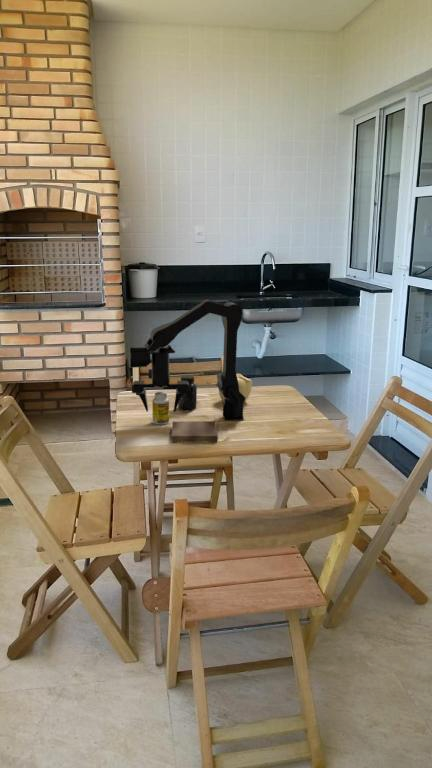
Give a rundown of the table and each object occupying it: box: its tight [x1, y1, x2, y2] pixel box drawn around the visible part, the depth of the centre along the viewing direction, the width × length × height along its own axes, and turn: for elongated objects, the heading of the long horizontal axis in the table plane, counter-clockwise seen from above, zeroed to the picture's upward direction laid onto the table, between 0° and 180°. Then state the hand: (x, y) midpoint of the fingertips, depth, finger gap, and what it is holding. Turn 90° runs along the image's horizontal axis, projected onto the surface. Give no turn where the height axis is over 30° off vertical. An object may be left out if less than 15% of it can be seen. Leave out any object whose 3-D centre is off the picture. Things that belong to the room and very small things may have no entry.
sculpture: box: [218, 373, 253, 403], centre depth 222 cm, size 12×12×11 cm
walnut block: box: [171, 420, 218, 443], centre depth 187 cm, size 14×14×2 cm
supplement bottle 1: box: [151, 391, 170, 425], centre depth 197 cm, size 6×6×10 cm
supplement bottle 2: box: [177, 374, 198, 412], centre depth 213 cm, size 7×7×12 cm
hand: (161, 411), depth 198 cm, fingers open, 9 cm apart
